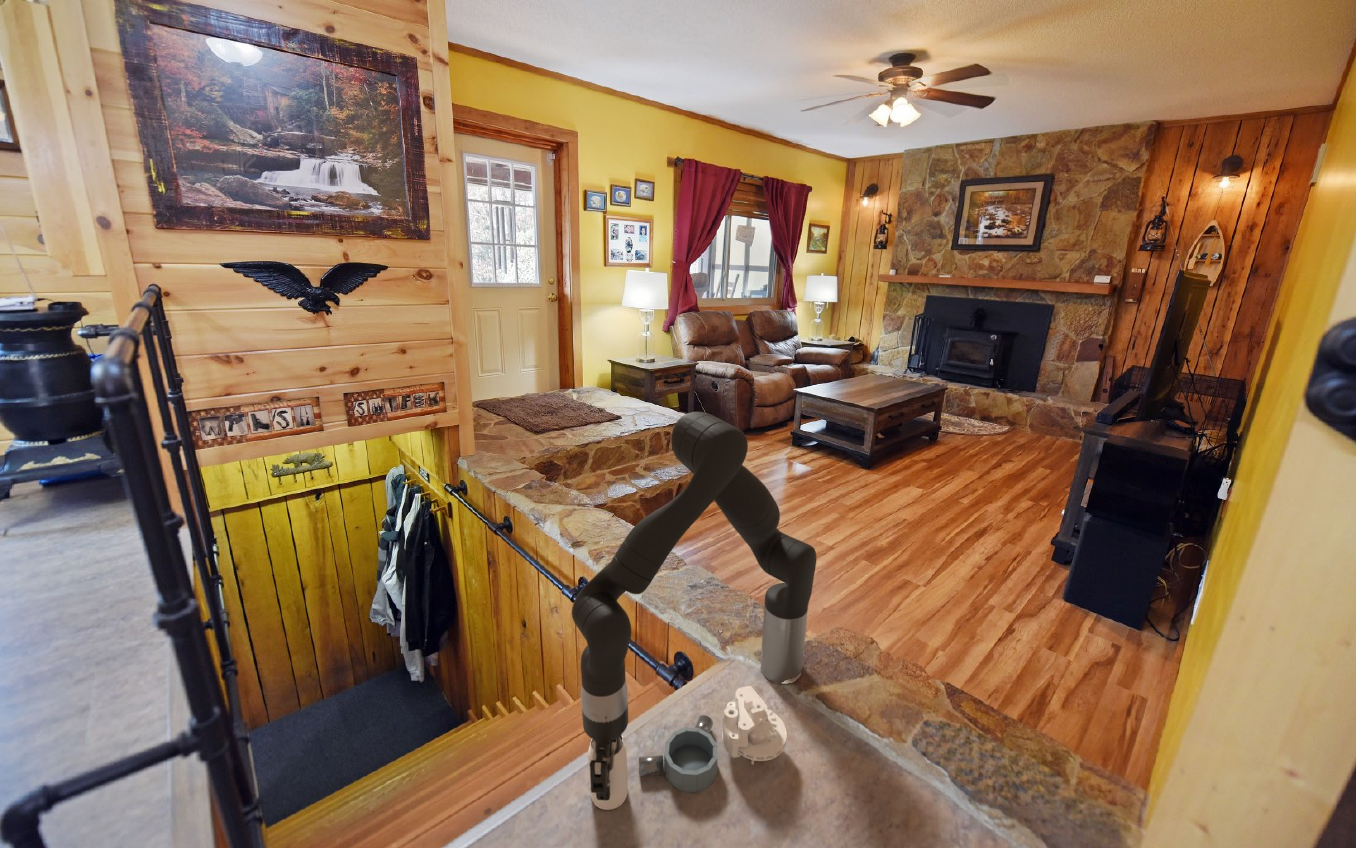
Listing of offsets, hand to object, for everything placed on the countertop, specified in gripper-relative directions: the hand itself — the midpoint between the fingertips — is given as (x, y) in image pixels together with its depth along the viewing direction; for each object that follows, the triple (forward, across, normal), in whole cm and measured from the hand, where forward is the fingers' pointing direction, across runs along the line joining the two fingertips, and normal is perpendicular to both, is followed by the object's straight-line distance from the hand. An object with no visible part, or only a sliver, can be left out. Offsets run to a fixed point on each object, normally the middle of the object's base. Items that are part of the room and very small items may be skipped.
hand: (608, 774), depth 96 cm
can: (+5, 0, 0) cm, 5 cm away
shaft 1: (+5, +5, -7) cm, 10 cm away
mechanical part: (+5, +11, -26) cm, 28 cm away
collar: (+5, +6, -14) cm, 16 cm away
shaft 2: (+5, +13, -16) cm, 21 cm away
